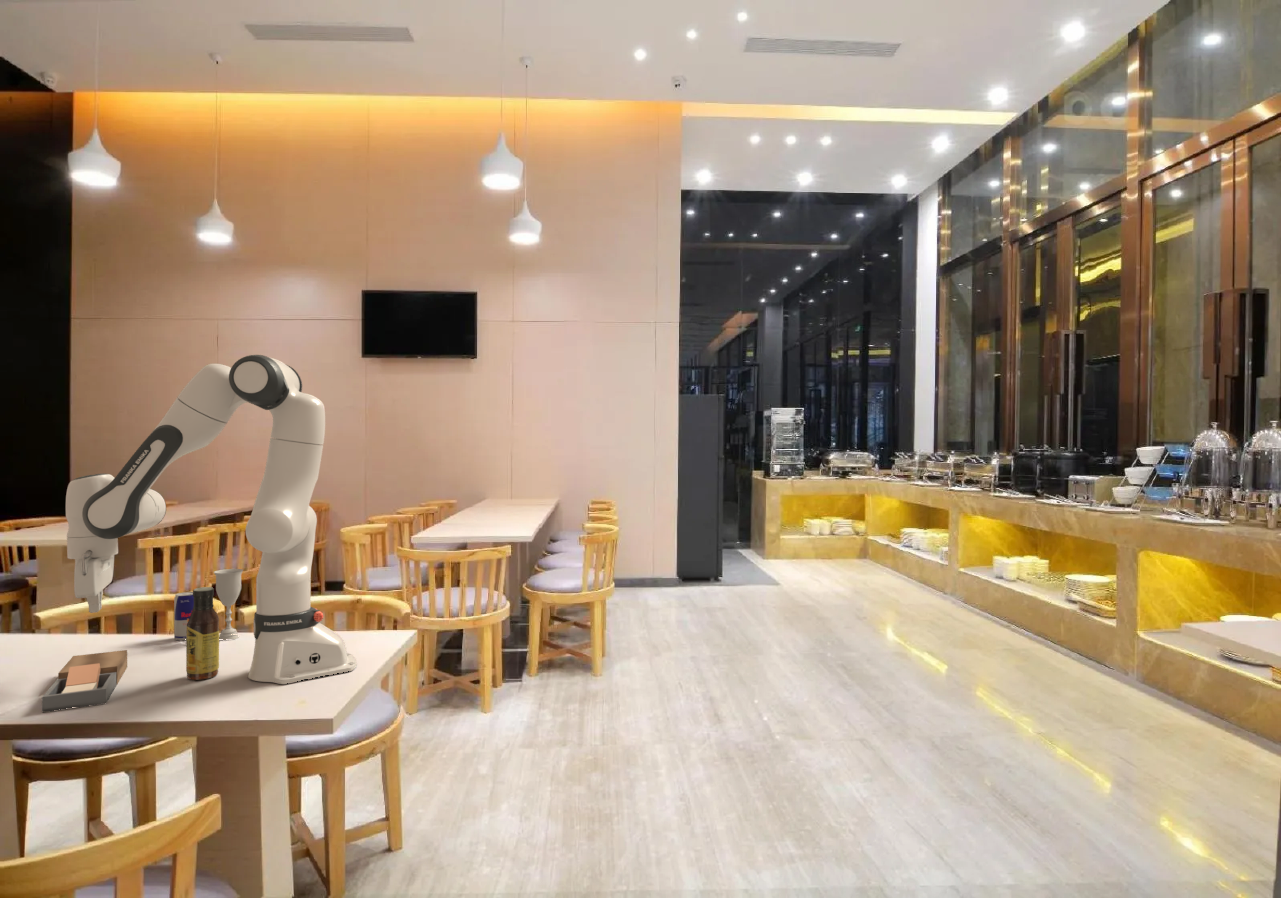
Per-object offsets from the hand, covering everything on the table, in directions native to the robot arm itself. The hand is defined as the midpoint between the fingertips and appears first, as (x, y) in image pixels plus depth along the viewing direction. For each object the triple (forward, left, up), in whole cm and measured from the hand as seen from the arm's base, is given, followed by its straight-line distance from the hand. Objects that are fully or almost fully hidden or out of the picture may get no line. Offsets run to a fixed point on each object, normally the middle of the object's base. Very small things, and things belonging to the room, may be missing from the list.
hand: (95, 611), depth 156 cm
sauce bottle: (-20, +8, -16) cm, 27 cm away
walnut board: (+1, -2, -15) cm, 16 cm away
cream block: (+1, +13, -13) cm, 18 cm away
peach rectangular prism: (+1, +7, -13) cm, 15 cm away
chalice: (-24, -27, -16) cm, 40 cm away
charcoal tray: (+1, +12, -15) cm, 19 cm away
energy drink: (-14, -32, -16) cm, 39 cm away
